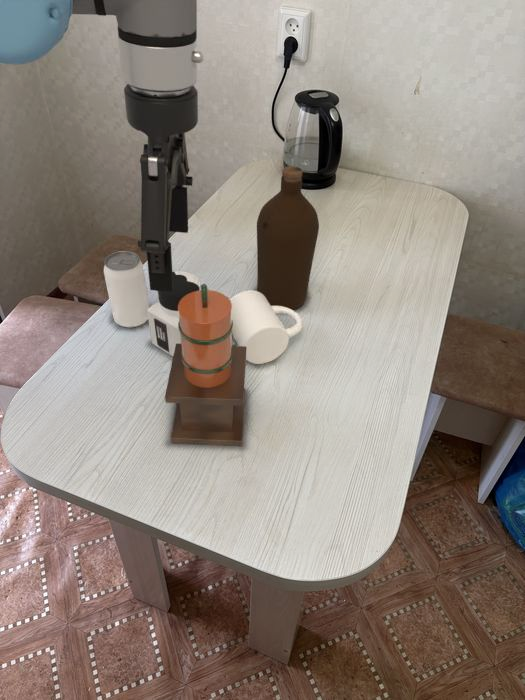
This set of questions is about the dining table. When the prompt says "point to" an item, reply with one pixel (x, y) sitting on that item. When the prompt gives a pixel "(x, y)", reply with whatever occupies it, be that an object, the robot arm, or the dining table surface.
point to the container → (170, 312)
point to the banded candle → (206, 337)
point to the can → (126, 288)
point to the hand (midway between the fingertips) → (170, 258)
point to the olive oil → (286, 243)
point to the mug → (261, 326)
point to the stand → (208, 405)
